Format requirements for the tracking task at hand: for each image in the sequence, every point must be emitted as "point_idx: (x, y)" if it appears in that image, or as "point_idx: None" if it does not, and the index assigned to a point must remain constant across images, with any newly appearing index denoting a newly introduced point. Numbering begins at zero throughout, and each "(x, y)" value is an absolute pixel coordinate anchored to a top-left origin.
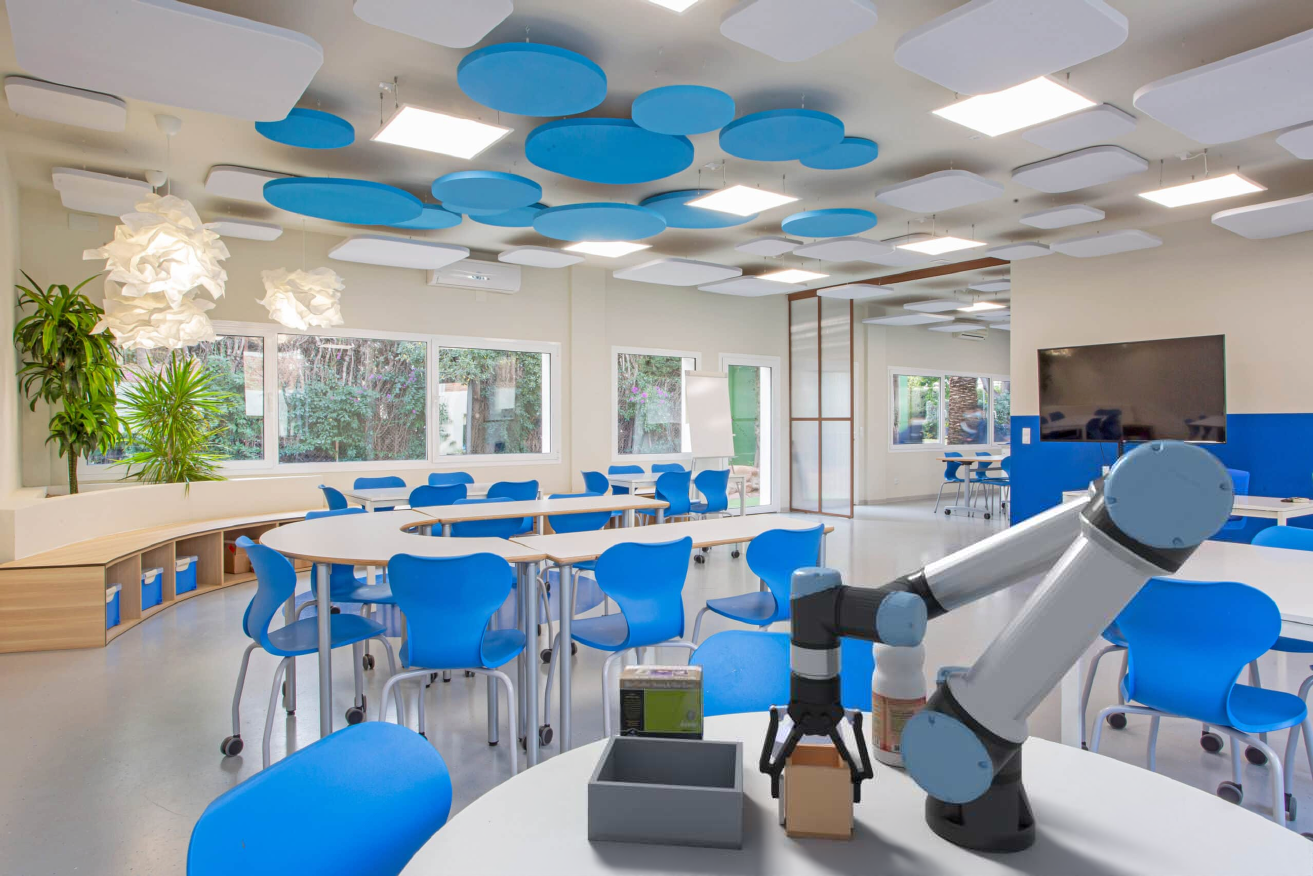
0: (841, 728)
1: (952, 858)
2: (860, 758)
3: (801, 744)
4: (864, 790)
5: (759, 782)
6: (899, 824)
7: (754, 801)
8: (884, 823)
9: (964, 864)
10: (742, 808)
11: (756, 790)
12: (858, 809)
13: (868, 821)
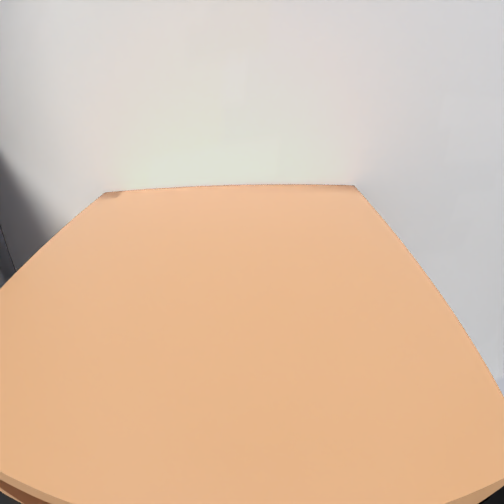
0: None
1: (498, 367)
2: (493, 494)
3: (14, 485)
4: (461, 10)
5: (16, 17)
6: (492, 262)
7: (13, 174)
8: (460, 263)
9: (501, 376)
10: (2, 236)
11: (7, 85)
12: (416, 171)
13: (421, 258)
